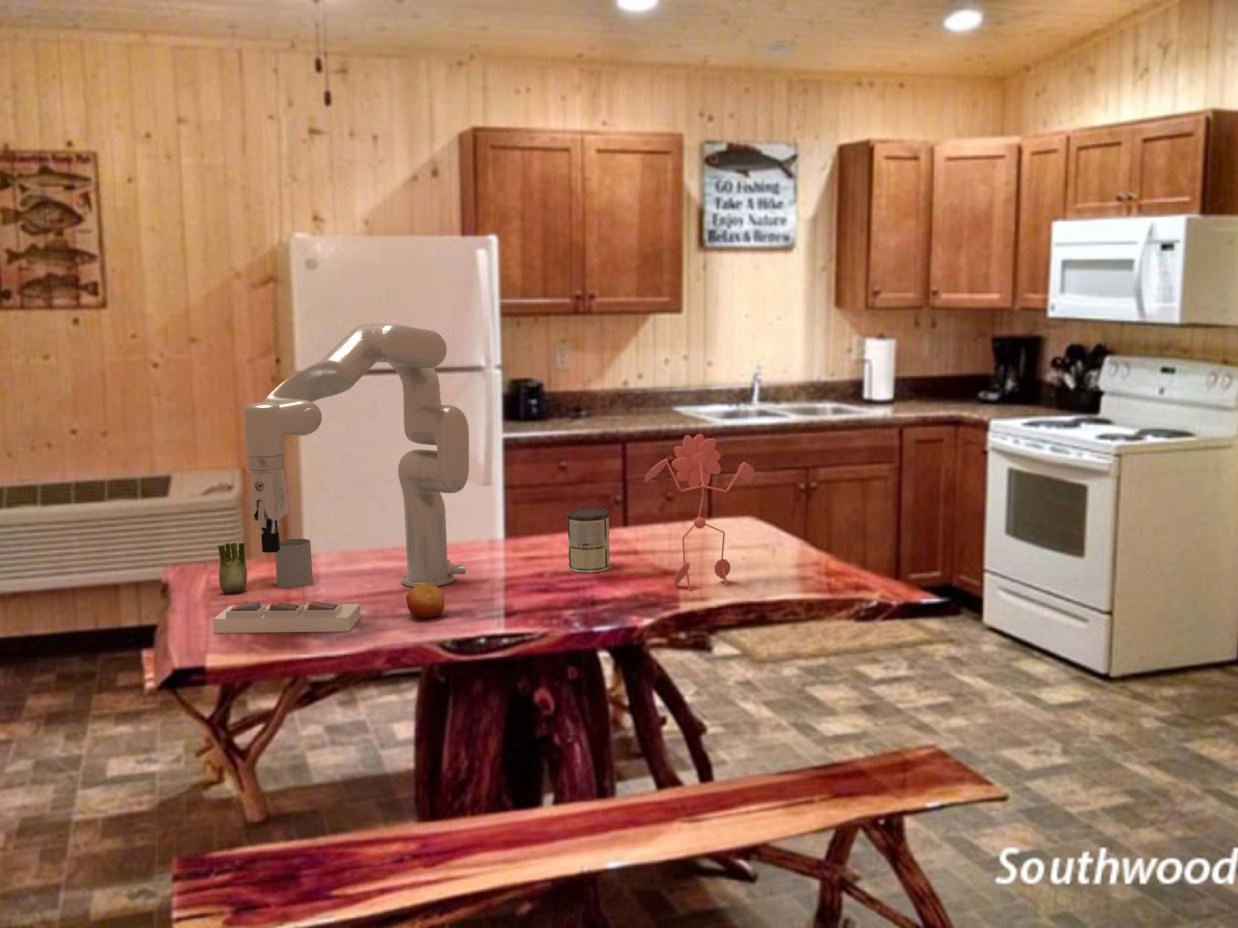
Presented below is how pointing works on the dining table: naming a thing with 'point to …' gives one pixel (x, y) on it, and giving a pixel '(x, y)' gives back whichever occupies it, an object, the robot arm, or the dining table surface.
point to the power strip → (288, 620)
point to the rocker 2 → (321, 606)
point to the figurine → (697, 467)
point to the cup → (294, 563)
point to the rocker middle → (282, 606)
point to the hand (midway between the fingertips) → (271, 551)
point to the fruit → (425, 601)
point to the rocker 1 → (247, 607)
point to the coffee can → (588, 540)
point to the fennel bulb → (232, 568)
